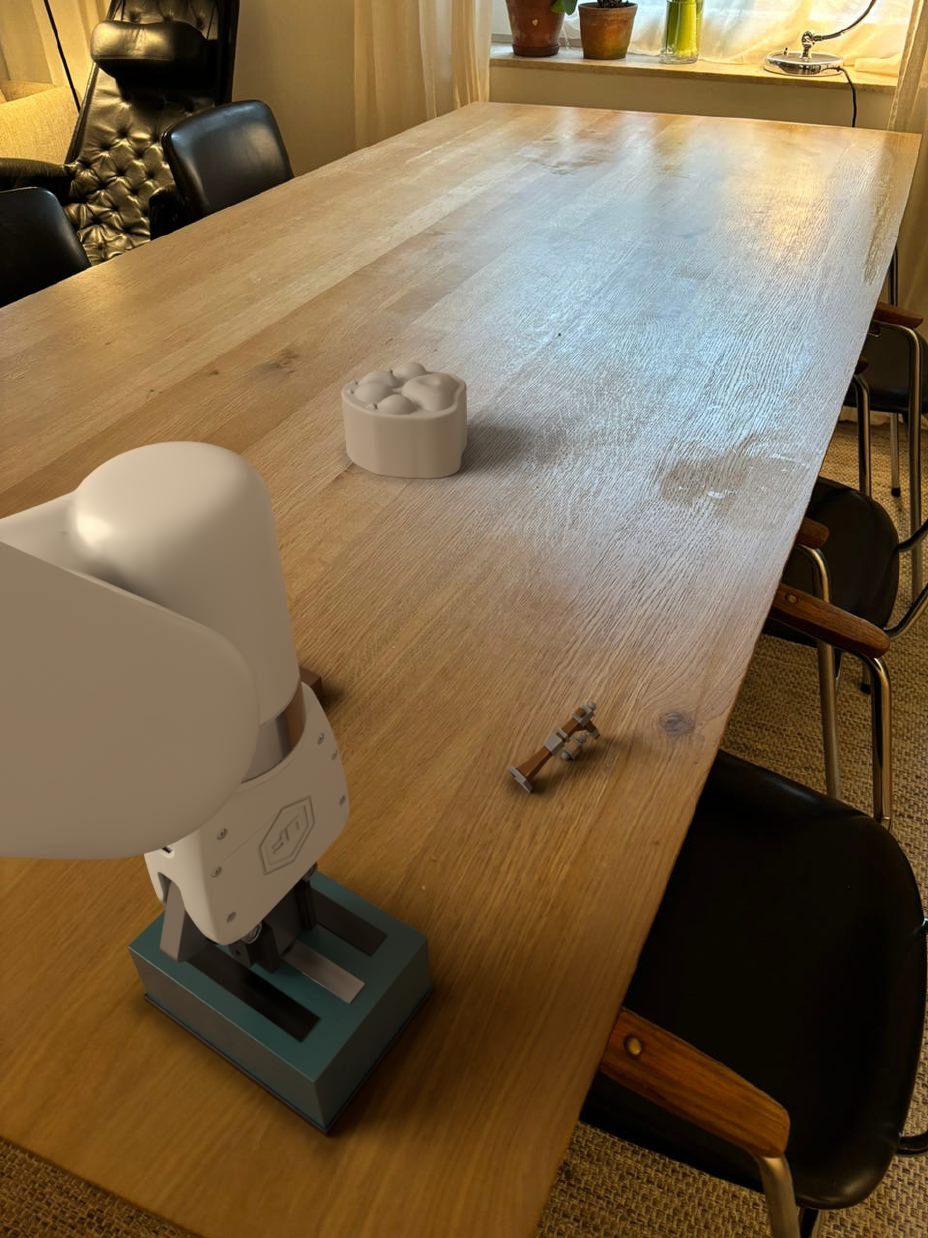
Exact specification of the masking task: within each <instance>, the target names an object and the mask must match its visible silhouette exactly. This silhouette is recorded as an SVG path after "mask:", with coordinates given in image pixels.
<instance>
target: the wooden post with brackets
mask: <svg viewBox="0 0 928 1238" xmlns="http://www.w3.org/2000/svg"><path fill="white" fill-rule="evenodd" d="M596 710H597V703H595V702H594V701H589V702H588V703H584V702H582V704H581V705H580V706H579V707H578V708H577V709H576V710H574V712H573V713H572V714H571V718H570V719H569V720H568V721H567V722H566V723H564V724H563V726H562V727H557V728H556V729H555V731H556V733H555V732H552V733H551V735H550V737H548V738H547V739H546V740H545V741H544V742H542V747H541V748H539V750H537V751H536V752H535V753H534V754H533V755H531V756H530V757H529V758H527V759H526V760H525V761H524V762H522V763H521V764H519V765H517V766H516V767H514V766H513V765H512V764H511V765H510V766H509V767H507V768H506V769H507V770H508V772H510V774H511V775H512V777H513V778H514V779H515V780H516V781H517V782H518V783H519V785H521V786H522V787H523V788H524V789H525V790H526V791H527V792H528V793H531V791H532V790H533V789H534V787H532V785H531V784H532V782H533V780H534V779H535V778H536V776H537V775H538V774H539V773H540V771H541V770H542V769H543V767H544V766H545V764H546V763H548V761H549V760H550V759H552V757H554V758H555V757H556V755H558V753H559V752H560V751H561V750H562V749H563V752H562V753H561V754H560V755H561V759H562V760H564V761H567V760H569V759H570V758H571V759H573V760H575V758H576V756H577V755H578V754H579V753H580V752H581V751H583V752H585V748H584V744H585V743H587V738H589V737H592V738H593V739H594V740H595V741H597V740H598V739H599V738H600V737H601V734H600V730H599V729H598V727H597V726H596V725H595V724H594V722H593V721H592V719H593V718H594V717H595V716H596V714H595V711H596ZM582 731H585V732H584V735H582V734H579V737H574V736H573V735H574V734H576V733H577V732H582ZM588 734H589V735H588ZM570 738H571V739H570ZM566 743H567V744H566Z"/></svg>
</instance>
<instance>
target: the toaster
mask: <svg viewBox="0 0 928 1238" xmlns="http://www.w3.org/2000/svg"><path fill="white" fill-rule="evenodd" d="M310 885H311V890H312V895H313V901H314V906H315V912H316V917H317V922H318V924H317V925H316V926H315V927H314V928H313V929H312V930H311V931H310V930H308V931H307V932H306V931H304V930H303V929H302V931H301V932H300V933H299V934H298V935H297V936H296V938H295V939H294V940H293V941H292V942H291V943H290V944H289V945H288V947H287V948H286V949H285V950H284V951H283V952H282V953H281V954H280V956H279V958H280V963H279V964H280V967H279V968H278V969H277V971H276V972H275V973H274V974H270V973H269V972H267V971H266V970H264V969H263V968H261V967H260V966H258V965H257V964H254V965H253V966H252V967H251V968H248V967H246V966H244V965H243V964H241V963H240V962H239V961H237V960H236V959H235V958H234V957H233V956H232V954H231V953H230V950H229V947H228V945H220V944H218V945H214V944H212V943H211V942H210V943H209V944H207V945H206V947H205V949H203V950H202V951H200V952H198V953H197V954H195V955H194V956H192V957H190V958H189V959H187V960H186V961H184V962H182V963H178V962H177V961H175V960H174V959H172V958H171V957H170V956H168V955H167V954H165V953H164V952H162V951H161V950H160V942H161V935H162V929H163V923H164V916H165V910H166V908H165V909H164V910H163V911H162V912H161V913H160V914H159V915H158V916H157V917H156V918H155V919H154V920H152V922H151V923H150V924H149V925H148V926H147V927H145V928H144V929H143V931H142V932H140V933H139V934H138V935H137V936H136V937H135V938H134V939H133V940H132V941H131V942H130V943H129V944H128V945H127V949H128V952H129V954H130V956H131V958H132V962H133V964H134V966H135V968H136V971H137V973H138V975H139V977H140V980H141V982H142V985H143V987H144V990H145V994H143V999H144V1001H145V1002H146V1003H147V1004H148V1005H150V1006H151V1007H153V1008H154V1009H155V1010H157V1011H158V1012H159V1013H160V1014H162V1015H163V1016H165V1017H166V1018H167V1019H169V1021H171V1022H172V1023H174V1024H175V1025H176V1026H178V1027H179V1028H180V1029H182V1030H183V1031H184V1032H186V1033H187V1034H188V1035H190V1036H191V1037H192V1038H194V1039H195V1040H196V1041H198V1042H199V1043H200V1044H202V1045H203V1047H205V1048H206V1049H208V1050H210V1051H211V1053H214V1054H215V1055H216V1056H217V1057H219V1058H220V1059H221V1060H222V1061H224V1062H226V1063H227V1064H228V1065H229V1066H230V1067H232V1068H233V1069H235V1070H236V1071H237V1072H239V1073H240V1074H241V1075H243V1076H244V1077H245V1078H246V1079H248V1080H249V1081H251V1082H252V1083H253V1084H255V1085H256V1086H258V1088H260V1089H261V1090H262V1091H264V1092H265V1093H266V1094H268V1095H269V1096H271V1097H272V1098H273V1099H275V1100H276V1101H277V1102H278V1103H279V1104H281V1105H282V1106H283V1107H285V1108H287V1109H288V1110H289V1111H291V1112H292V1113H293V1114H294V1115H296V1116H297V1117H298V1118H300V1119H301V1120H303V1121H304V1122H305V1123H306V1124H308V1125H309V1126H310V1127H311V1128H313V1129H314V1130H316V1131H317V1132H318V1133H319V1134H321V1135H322V1136H323V1137H325V1138H328V1136H329V1135H330V1134H331V1133H332V1131H333V1130H334V1129H335V1127H336V1126H337V1125H338V1123H339V1122H340V1120H341V1119H342V1118H343V1116H344V1115H345V1114H346V1112H347V1111H348V1110H349V1109H350V1107H351V1106H352V1104H353V1103H354V1102H355V1100H356V1099H357V1098H358V1096H359V1095H360V1094H361V1092H362V1091H363V1089H364V1088H365V1087H366V1085H367V1084H368V1083H369V1081H370V1080H371V1078H372V1077H373V1076H374V1075H375V1073H376V1072H377V1070H378V1069H379V1068H380V1066H381V1065H382V1064H383V1062H384V1061H385V1060H386V1058H387V1057H388V1055H390V1053H391V1051H392V1050H393V1049H394V1047H395V1046H396V1045H397V1044H398V1042H399V1041H400V1040H401V1038H402V1037H403V1035H404V1034H405V1032H406V1031H407V1030H408V1028H409V1027H410V1026H411V1024H412V1023H413V1022H414V1021H415V1019H416V1018H417V1016H418V1015H419V1014H420V1012H422V1010H423V1008H424V1007H425V1006H426V1004H427V1003H428V1002H429V1000H430V998H431V997H432V996H433V995H434V994H435V992H436V991H437V987H436V984H434V983H433V982H431V967H430V951H429V937H428V936H427V935H425V934H423V933H422V932H420V931H419V930H417V929H415V928H414V927H412V926H410V925H408V924H406V923H405V922H403V921H401V920H400V919H398V918H397V917H395V916H393V915H392V914H390V913H389V912H387V911H386V910H383V908H380V907H379V906H377V905H375V904H373V903H372V902H371V901H369V900H368V899H365V898H364V897H363V896H360V895H359V894H357V893H355V892H354V891H352V890H350V889H349V888H347V887H346V886H344V885H343V884H341V883H339V882H338V881H336V880H334V879H332V878H331V877H329V876H328V875H326V874H325V873H323V872H321V871H319V870H318V869H317V871H316V873H315V875H314V876H313V877H312V879H311V880H310Z"/></svg>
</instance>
